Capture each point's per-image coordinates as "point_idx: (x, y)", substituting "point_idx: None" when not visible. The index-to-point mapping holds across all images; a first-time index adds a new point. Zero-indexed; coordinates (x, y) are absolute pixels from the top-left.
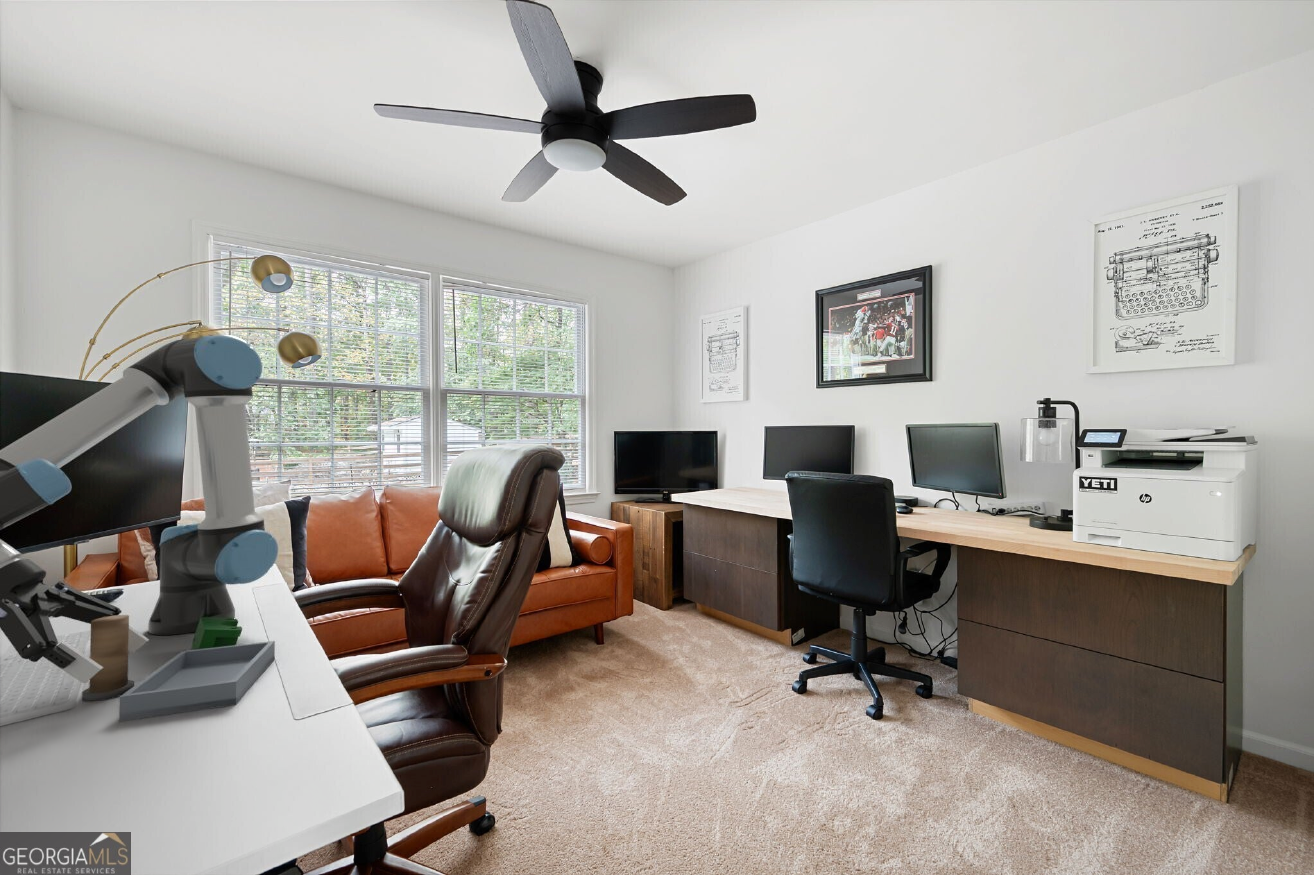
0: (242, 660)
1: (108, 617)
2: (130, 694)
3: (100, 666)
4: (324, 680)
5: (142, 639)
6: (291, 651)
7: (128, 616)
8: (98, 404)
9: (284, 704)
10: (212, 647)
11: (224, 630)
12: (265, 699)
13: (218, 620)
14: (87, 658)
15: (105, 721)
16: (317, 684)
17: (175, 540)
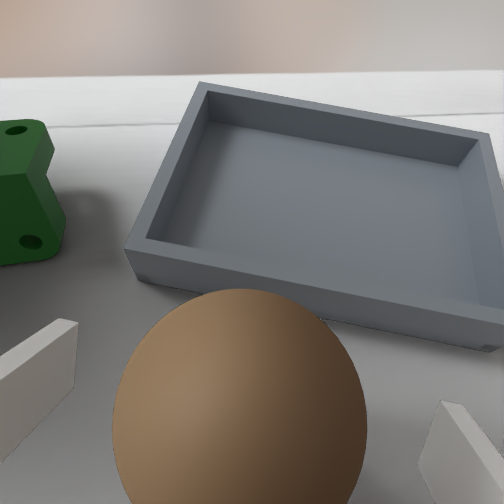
0: (204, 158)
1: (169, 434)
2: None
3: (453, 407)
4: (387, 76)
5: (67, 336)
6: (160, 100)
7: (236, 290)
8: None
9: (482, 118)
10: (58, 203)
11: (40, 144)
12: None
13: None
14: (493, 458)
15: (478, 384)
16: (403, 83)
17: None
